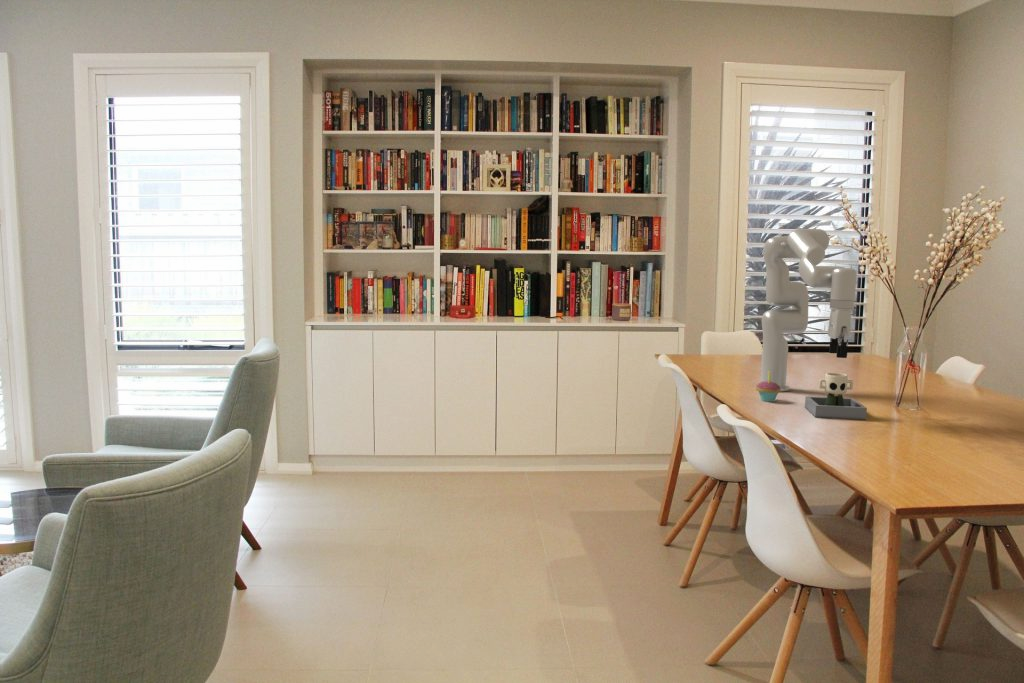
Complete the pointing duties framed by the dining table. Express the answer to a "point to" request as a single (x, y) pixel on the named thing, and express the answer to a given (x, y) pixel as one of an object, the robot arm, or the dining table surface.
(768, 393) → the cupcake
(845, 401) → the grey tray
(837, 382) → the character mug
